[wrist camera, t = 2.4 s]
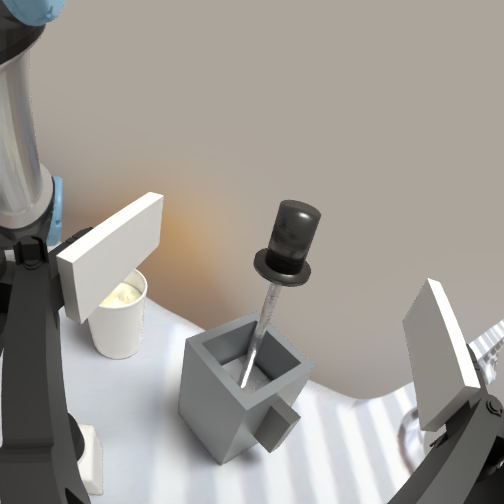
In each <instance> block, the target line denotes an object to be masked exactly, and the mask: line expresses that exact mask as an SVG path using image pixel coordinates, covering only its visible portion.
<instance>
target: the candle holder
mask: <svg viewBox="0 0 504 504" xmlns="http://www.w3.org/2000/svg"><path fill="white" fill-rule="evenodd" d="M146 292H147V282H146V280H145V277H144V276H143V275H142V274H141V273H140V272H139V271H138V270H136V269H134V270H133V271H132V272H131V273H130V274H129V275H128V276H127V277H126V278H125V279H124V280H123V281H122V282H121V283H120V284H119V285H118V286H117V287H116V288H115V289H114V290H113V291H112V293H111V294H110V295H109V296H108V297H107V298H106V299H105V300H104V301H103V302H102V303H101V304H100V305H99V306H98V307H97V308H96V309H95V310H94V311H93V312H92V314H91V315H90V316H89V317H88V323H89V327H90V331H91V335H92V338H93V342H94V345H95V347H96V349H97V350H98V351H99V352H100V353H101V354H102V355H104V356H106V357H108V358H112V359H125V358H128V357H130V356H132V355H134V354H135V353H136V352H137V351H138V350H139V349H140V347H141V344H142V337H143V324H144V311H145V300H146Z"/></svg>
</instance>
